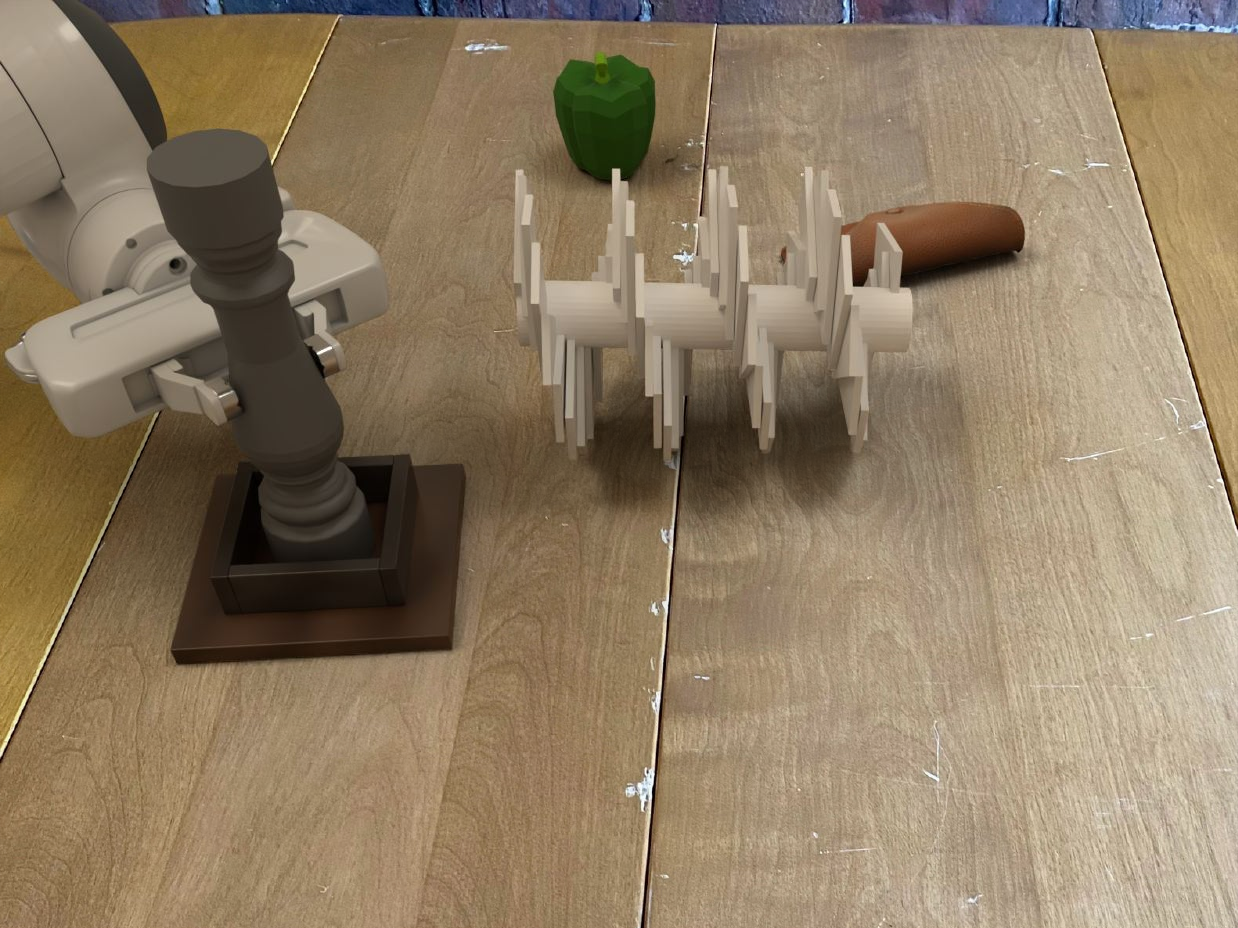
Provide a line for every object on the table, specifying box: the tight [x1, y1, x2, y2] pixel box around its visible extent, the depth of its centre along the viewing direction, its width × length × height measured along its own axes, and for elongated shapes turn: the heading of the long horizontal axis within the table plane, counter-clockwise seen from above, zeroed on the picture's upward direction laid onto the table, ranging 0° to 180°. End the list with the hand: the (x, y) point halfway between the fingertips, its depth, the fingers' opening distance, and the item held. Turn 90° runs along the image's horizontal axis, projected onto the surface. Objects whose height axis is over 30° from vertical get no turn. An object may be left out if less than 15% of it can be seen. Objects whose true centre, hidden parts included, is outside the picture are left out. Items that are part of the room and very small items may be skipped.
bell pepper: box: [552, 51, 657, 181], centre depth 115 cm, size 8×8×10 cm
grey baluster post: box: [147, 128, 376, 563], centre depth 77 cm, size 6×6×25 cm
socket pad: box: [169, 453, 467, 665], centre depth 86 cm, size 16×16×4 cm
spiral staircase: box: [513, 165, 914, 463], centre depth 89 cm, size 18×18×25 cm
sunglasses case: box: [780, 201, 1026, 287], centre depth 109 cm, size 18×7×7 cm
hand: (282, 385), depth 76 cm, fingers closed on grey baluster post, 5 cm apart
